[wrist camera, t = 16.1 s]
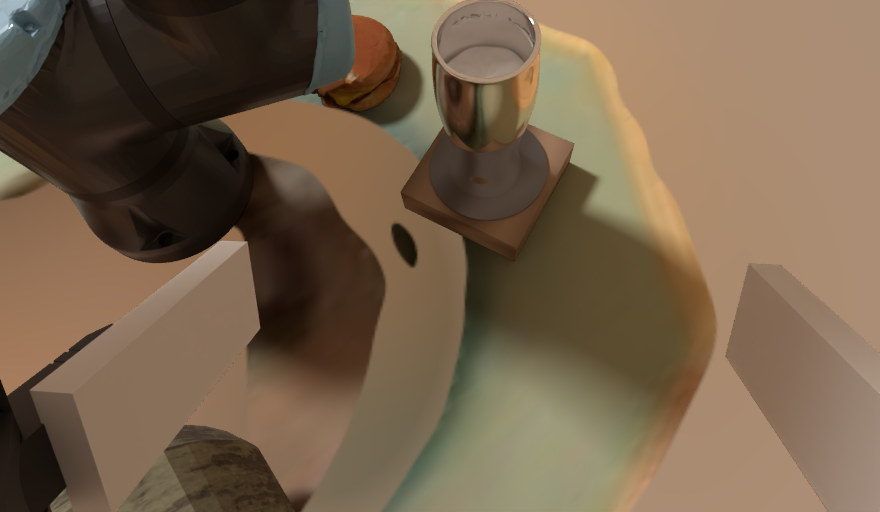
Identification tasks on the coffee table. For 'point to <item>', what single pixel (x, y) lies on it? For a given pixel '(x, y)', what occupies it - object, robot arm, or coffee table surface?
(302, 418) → the coffee table surface
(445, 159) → the walnut plinth
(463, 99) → the silver metal cup
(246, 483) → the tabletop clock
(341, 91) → the burger
